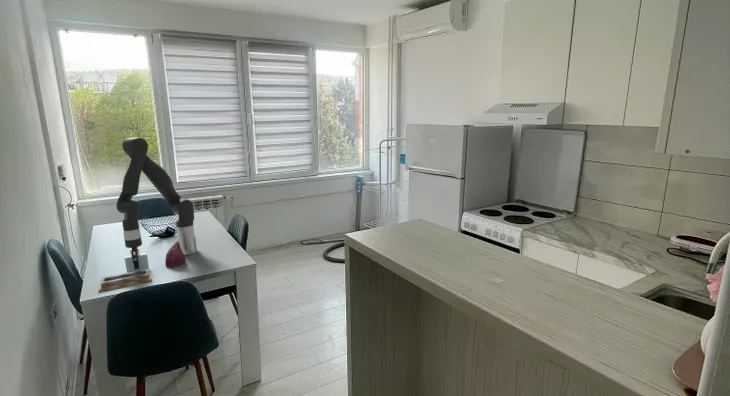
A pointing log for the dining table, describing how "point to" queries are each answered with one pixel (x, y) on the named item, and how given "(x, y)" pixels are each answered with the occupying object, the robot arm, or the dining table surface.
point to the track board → (125, 280)
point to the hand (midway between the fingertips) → (137, 266)
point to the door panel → (142, 263)
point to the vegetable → (175, 256)
